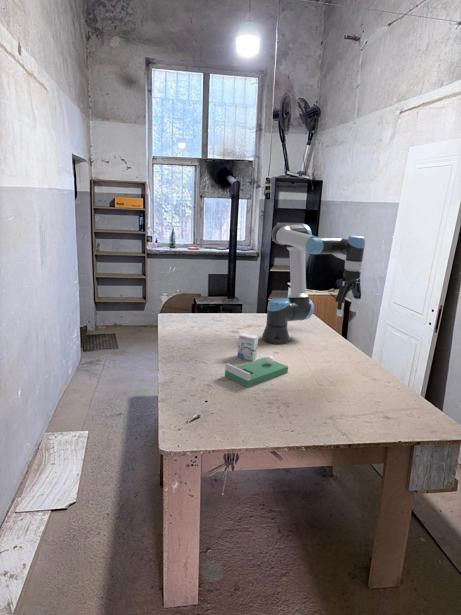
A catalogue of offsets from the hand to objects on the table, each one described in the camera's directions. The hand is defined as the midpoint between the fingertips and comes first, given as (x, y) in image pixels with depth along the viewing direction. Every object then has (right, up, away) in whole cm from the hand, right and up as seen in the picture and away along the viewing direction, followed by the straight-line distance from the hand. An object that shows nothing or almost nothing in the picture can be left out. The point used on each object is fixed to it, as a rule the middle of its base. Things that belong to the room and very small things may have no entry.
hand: (346, 313), depth 202 cm
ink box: (-47, -22, +6) cm, 52 cm away
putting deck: (-44, -27, -13) cm, 53 cm away
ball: (-38, -21, -9) cm, 44 cm away
